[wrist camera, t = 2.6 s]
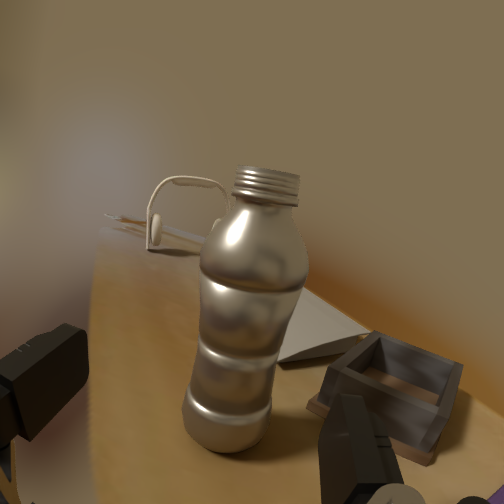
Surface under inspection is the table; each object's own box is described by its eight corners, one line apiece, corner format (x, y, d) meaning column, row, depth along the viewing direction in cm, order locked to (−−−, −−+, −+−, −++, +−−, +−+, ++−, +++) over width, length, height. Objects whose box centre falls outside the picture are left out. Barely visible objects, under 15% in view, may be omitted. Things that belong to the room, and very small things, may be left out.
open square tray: (450, 400, 30) (467, 364, 29) (425, 466, 20) (453, 424, 19) (360, 362, 38) (371, 327, 37) (306, 408, 28) (319, 365, 27)
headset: (143, 254, 68) (153, 172, 64) (141, 246, 75) (150, 171, 71) (229, 259, 76) (241, 183, 72) (220, 251, 83) (231, 181, 79)
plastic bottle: (189, 402, 26) (219, 163, 22) (265, 416, 26) (317, 180, 22) (171, 453, 20) (199, 157, 15) (263, 469, 20) (336, 181, 15)
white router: (290, 296, 60) (294, 276, 59) (376, 360, 40) (385, 334, 39) (211, 297, 53) (214, 274, 52) (278, 380, 33) (285, 349, 32)
